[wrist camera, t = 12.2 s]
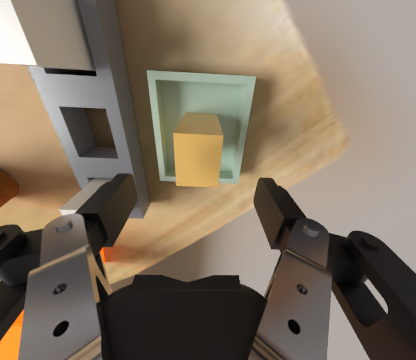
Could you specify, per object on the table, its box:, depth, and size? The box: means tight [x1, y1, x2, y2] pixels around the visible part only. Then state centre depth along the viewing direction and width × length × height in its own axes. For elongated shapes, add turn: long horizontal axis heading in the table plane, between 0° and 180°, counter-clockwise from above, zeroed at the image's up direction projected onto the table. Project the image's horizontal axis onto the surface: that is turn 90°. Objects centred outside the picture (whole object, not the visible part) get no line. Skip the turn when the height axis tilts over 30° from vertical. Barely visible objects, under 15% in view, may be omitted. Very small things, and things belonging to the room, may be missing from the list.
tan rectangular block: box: [173, 112, 224, 188], centre depth 18 cm, size 5×4×10 cm
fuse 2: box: [59, 178, 113, 216], centre depth 23 cm, size 5×4×10 cm
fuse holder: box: [28, 0, 150, 218], centre depth 21 cm, size 27×8×4 cm, turn 177°
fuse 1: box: [0, 0, 96, 71], centre depth 14 cm, size 5×4×10 cm
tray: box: [146, 70, 256, 184], centre depth 22 cm, size 14×12×3 cm
